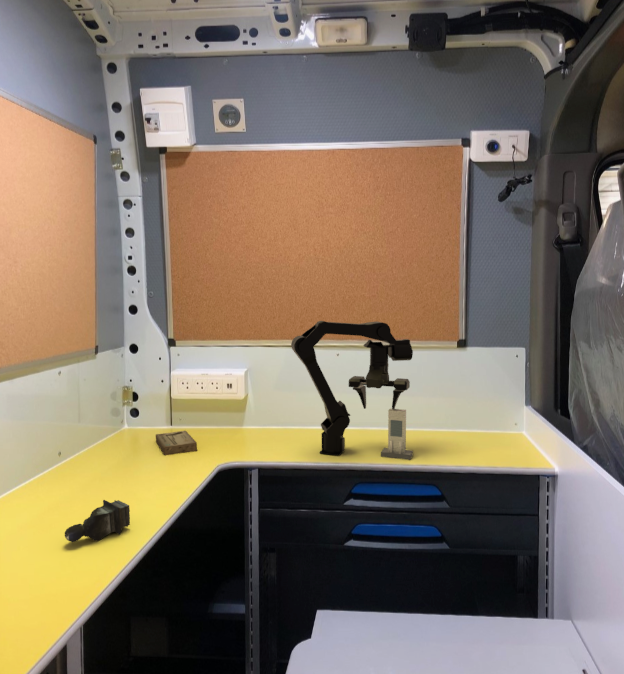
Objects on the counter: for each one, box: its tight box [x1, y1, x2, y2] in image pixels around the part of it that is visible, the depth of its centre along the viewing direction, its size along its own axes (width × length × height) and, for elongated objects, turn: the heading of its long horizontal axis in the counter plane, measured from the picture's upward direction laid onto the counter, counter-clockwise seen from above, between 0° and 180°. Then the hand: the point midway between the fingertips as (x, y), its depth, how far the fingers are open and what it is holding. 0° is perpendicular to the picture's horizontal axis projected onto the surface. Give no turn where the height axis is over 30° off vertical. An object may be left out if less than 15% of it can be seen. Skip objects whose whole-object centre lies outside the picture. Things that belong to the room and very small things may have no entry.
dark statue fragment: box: [64, 499, 131, 543], centre depth 113 cm, size 6×13×6 cm, turn 145°
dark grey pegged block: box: [380, 441, 414, 461], centre depth 167 cm, size 9×5×5 cm, turn 70°
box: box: [155, 430, 198, 456], centre depth 179 cm, size 11×17×3 cm, turn 25°
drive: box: [387, 408, 407, 453], centre depth 166 cm, size 5×2×13 cm, turn 70°
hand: (378, 409), depth 173 cm, fingers open, 9 cm apart
